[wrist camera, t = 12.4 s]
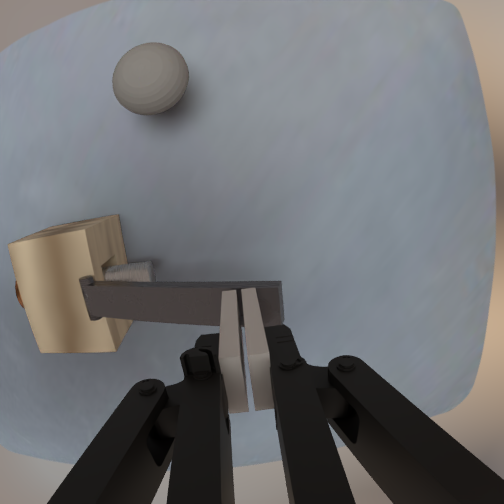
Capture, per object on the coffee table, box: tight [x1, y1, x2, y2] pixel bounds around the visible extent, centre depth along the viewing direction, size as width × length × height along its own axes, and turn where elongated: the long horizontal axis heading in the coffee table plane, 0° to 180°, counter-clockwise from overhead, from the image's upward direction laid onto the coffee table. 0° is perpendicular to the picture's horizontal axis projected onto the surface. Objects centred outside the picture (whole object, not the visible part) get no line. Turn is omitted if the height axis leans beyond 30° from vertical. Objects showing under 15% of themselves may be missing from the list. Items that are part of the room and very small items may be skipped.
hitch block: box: [8, 214, 133, 353], centre depth 25 cm, size 8×10×8 cm
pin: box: [15, 261, 156, 309], centre depth 25 cm, size 13×4×4 cm, turn 96°
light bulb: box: [112, 43, 189, 115], centre depth 21 cm, size 6×5×10 cm
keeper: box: [79, 275, 284, 327], centre depth 19 cm, size 14×3×1 cm, turn 96°
